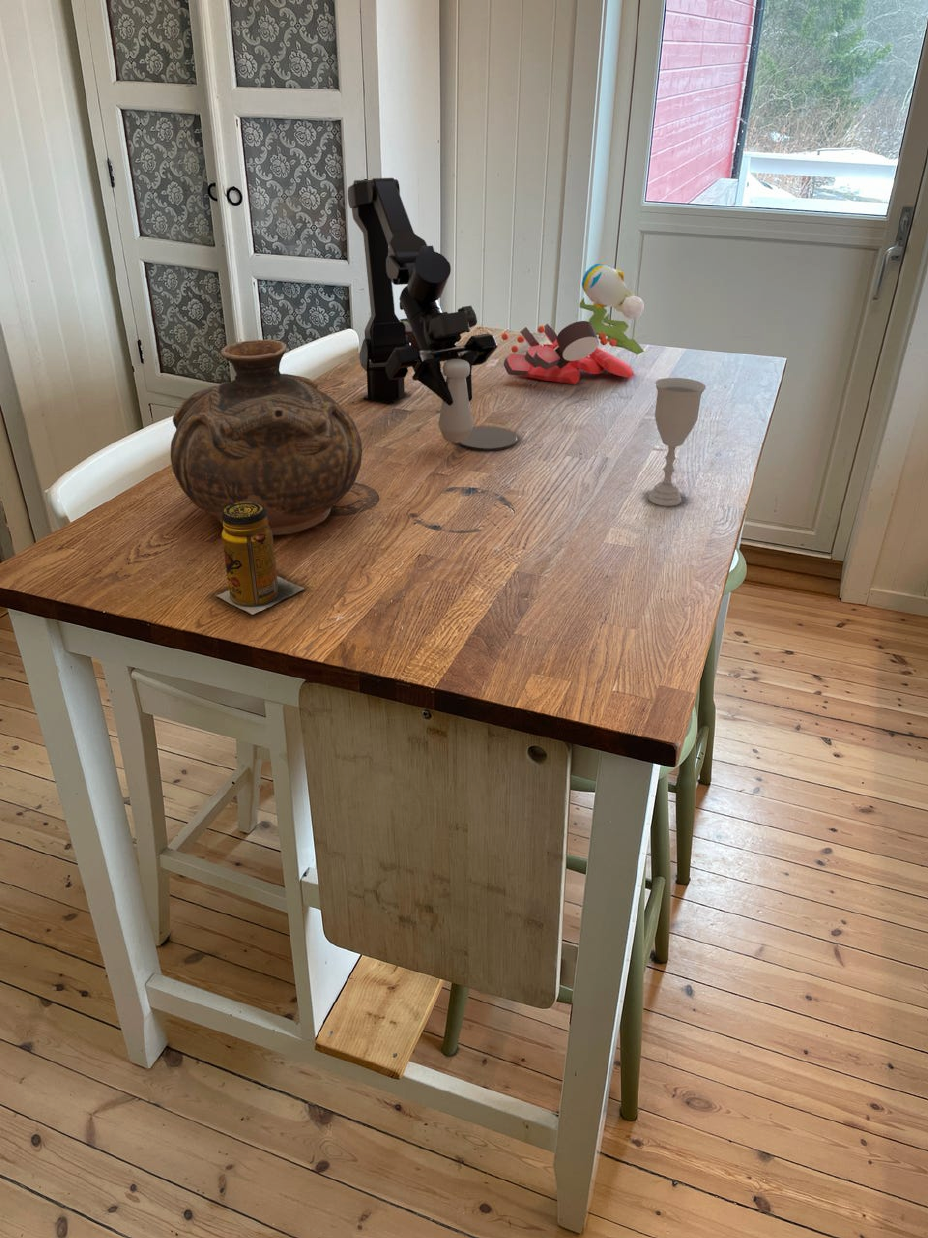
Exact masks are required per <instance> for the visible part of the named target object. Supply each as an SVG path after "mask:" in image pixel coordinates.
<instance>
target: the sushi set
mask: <svg viewBox="0 0 928 1238" xmlns="http://www.w3.org/2000/svg"><path fill="white" fill-rule="evenodd" d="M584 272H585V273H584V275H583V277H582V281H581V288H582V290H583V292H584V293H585V295H586V296H587V298H588V299H589V300H590V301H591V302H593V304H587V303H586V302H585V297H583V298H582V299H581V300H580V302H579V308H580V309H583V310H587V311H591V312H593V314H592V315H591V316H590V318H589V319H588V320H578V321H575V322H572V323H569V324H568V325H566V326H565V327H564V328H562V329H561V330H560V331H559V332H558V334H557V333H556V331H554V329H553V328H552V327H551V326H550V324H549V323H546V324H545V325H539V326H538V327H537V332H538V333H539V334H543V333H544V335H545V336H546V338H547V339H548V341H549V342H550V343H546V344H545V343H544V344H543V345H542V344H540V343H539V341H538V340H537V339H536V337H535V336H534V335H533V333H532V332H530V330H529V329H528V328H527V327H526V326H525V327H523V328H522V329H521V330H520V331H519V333H520V334H521V335H518V337H517V340H516V341H517V342H518V344H519V343H520V344H522V343H523V342H526V343H527V345H528V346H529V347H528V349H527V350H526V352H525V354H522V353H517V352H519V347H518V345H514V344H513V345H512V346H511V349H510V351H511V352H512V353H510V354H509V355H507V356H506V358H505V359H504V360H503V367H504V369H505V371H506V373H507V375H509V376H521V377H526V378H531V379H535V380H539V381H546V382H554V383H561V384H562V383H563V384H570V385H576V384H577V383H578V382H579V381H580V374H581V371H583V372H585V373H587V374H590V375H591V374H594V375H599V374H602V373H604V371H605V370H606V371H607V372H608V373H610V374H613V375H616V376H620V377H624V378H631V377H634V376H635V373H634V370H633V368H632V366H630V365H629V364H628V363H627V362H625V361H623V360H622V359H620V358H618V357H616V356H615V355H614V354H611V353H609V352H608V351H605V350H604V349H602V348H600V347H599V345H600V344H601V345H602V346H607V345H609V346H611V347H612V348H613V347H616V348H622V349H625V350H627V351H629V352H631V353H633V354H635V355H639V354H642V353H644V352H645V351H644V349H643V348H642V346H640V345H639V343H638V342H637V341H636V340H635V339H632V338H628V336H627V335H626V334H625V332H626V331H627V330H628V329H629V325H628V323H627V322H626V321H624V320H614V319H610V318H609V317H610V313H608V314H607V312H608V310H607V309H606V307H610V308H613V309H614V310H616V311H617V312H620V313H622V315H623V316H624V317H625V318H627V319H629V320H635V319H637V318H639V317H641V316H642V314H643V313H644V311H645V304H644V301H643V299H642V298H641V297H639V296H637V295H634V293H633V291H631V290H630V289H628V288H627V285H626V283H625V277H624V276H625V275H624V273H623V271H621V270H620V269H616V268H614V267H612V266H609V265H607V264H603V263H595V264H593V265H592V266H590V267H589V268H588V269H587V270H584ZM606 314H607V315H606ZM597 335H598V336H597ZM501 339H502V340H503V341H507V340H508V339H509V334H508V333H507V332H503V333H502V334H501ZM599 340H600V341H599Z"/></svg>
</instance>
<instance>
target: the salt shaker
mask: <svg viewBox="0 0 928 1238" xmlns="http://www.w3.org/2000/svg"><path fill="white" fill-rule="evenodd" d="M442 370H443V371H442V374H443V376H445V377H446V378H445V382H446V384H447V386H448V389H449V391H450V393H451V396H452V400H453V404H452V405H450V406H449V405H448V404H447V403H445V402H444V401H443V400H442V399H441V400H442V401H441V406H440V412H439V418H438V423H437V424H438V429H439V431H440V433H441V436H442V438H443V439H444V441H446V442H449V443H454V444H455V443H457V444H458V442H463V441H466V440H467V438H468V436H469V434H470V432H471V431H472V429H473V427H474V420H473V415H472V408H471V401H470V402H469V397H468V391H467V383H466V377H467V376H468V375H469V373H470V366H469V363H468V362H467V361H465V360H461V359H450V360H447V361H444V363H443V366H442Z"/></svg>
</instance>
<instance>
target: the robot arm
mask: <svg viewBox="0 0 928 1238" xmlns="http://www.w3.org/2000/svg"><path fill="white" fill-rule="evenodd" d="M347 202H348V203H347V204H348V206H349V208H350V209H351V214H352V219H353V221H354V222H355V224H356V225H357V226H358V228H359V229H360V231H361V232H362V235H363V245H364V246H363V247H364V255H365V257H364V258H365V265H366V266H365V267H366V275H367V285H368V286H367V288H368V296H369V306H370V307H369V308H370V316H369V319H368V322H367V324H366V326H365V328H364V338H363V341H362V344H361V346H360V351H359V363H360V366H361V367H362V369H364V371H365V372H366V384H367V385H366V388H367V389H366V390H367V393H366V395H363V400H364V401H365V400H366V401H372V402H377V403H385V404H395V403H396V402H399V400H401V399H403V398H405V396H407V392H406V391H405V389H406V388H405V378H406V376H407V375H408V372H409V369H408V368H411V367H412V369H413V372H414V374H412V377H411V378H412V380H413V381H418V382H420V383H421V384H422V385H423V386H425V387H426V388H428V389H429V390H430V391H431V392H432V393H434V394H435V395H436V396H437V397H438V398H439V399H441V400H443V401H444V402H445V403H447V404H448V405H449V406H450V405H452V404H453V400H452V396H451V393H450V391H449V389H448V386H447V384H446V378H445V377H444V374H443V372H442V371H441V370H442V367H441V362H446V361H447V360H450V359H461V360H465V361H467V362H468V363H469V366H470V373H469V375H468V376H467V377H466V383H467V391H468V397H469V402H470V403H471V401H472V400H473V384H472V368H473V366H479V365H483V364H485V363H486V362H487V361H488V359H489V358H490V357H491V355H493V353H494V352H495V351H496V349H497V348H498V347H499V346H498V343H497V340H496V338H495V337H494V335H493V334H491V333H488V332H487V333H481V334H475V335H470V337H469V338H468V340H467V341H466V342H465V344H463V345H457V343H459V342H460V341H461V339H462V335H463V334H464V333H470V332H471V328H473V327H475V326H477V325H478V318H477V314H476V312H475V310H474V308H473V306H472V305H466V306H462V307H461V308H460V307H459V308H458V309H457V311H456V312H449V313H448V311H442V309H441V306H440V303H439V301H438V300H439V299H440V298H441V297H442V295H443V292H444V289H445V287H446V285H447V283H448V280H449V277H450V275H451V271H452V269H451V264H450V262H449V261H448V259H447V258H446V257H445V256H444V255H443V254H441V253H439V252H437V251H436V250H435V248H434V245H428V244H427V242H426V240H425V239H423V238H422V237H421V236H418V235H417V234H416V233H415V232H414V228H413V226H412V224H411V220H410V218H409V216H408V213H407V210H406V207H405V204H404V202H403V199H402V197H401V188H400V182H399V180H398V179H396V178H394V177H373V178H372V179H354V181H352V184H351V185H350V186H348V187H347ZM393 285H394V286H395V285H396V286H401V285H406V286H405V287H404V288H403V289H402V290H401V292H400V296H399V309H400V311H404V314H405V317H406V318H407V319H408V321H409V324H410V326H411V329H412V331H411V333H410V337H411V340H415V339H416V341H417V343H418V346H419V348H420V351H419V349H418V347H417V346H415V345H411V343H410V342H409V339H408V337H407V336H406V327H405V325H404V323H403V322H401V321H400V318H399V317H398V315H397V314H396V310H395V309H396V307H395V306H396V305H395V297H394V286H393Z"/></svg>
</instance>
